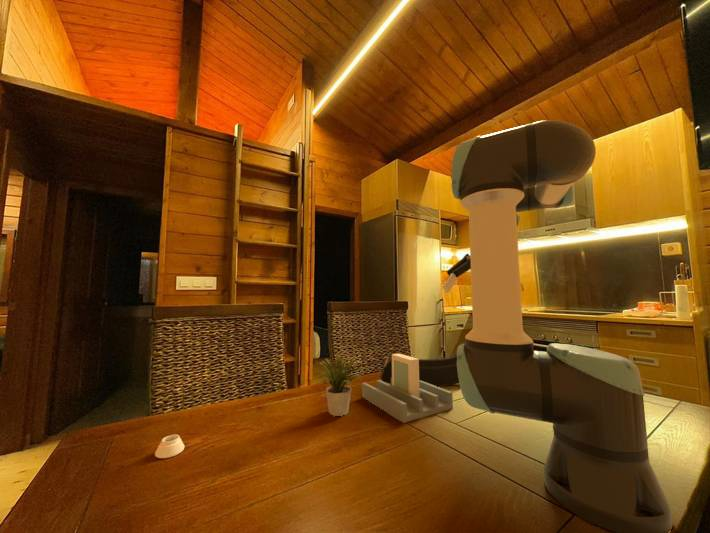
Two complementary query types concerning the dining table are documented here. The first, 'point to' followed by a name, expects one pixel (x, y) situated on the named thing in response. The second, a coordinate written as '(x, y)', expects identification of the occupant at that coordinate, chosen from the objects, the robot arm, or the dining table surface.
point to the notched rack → (408, 400)
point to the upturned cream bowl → (169, 447)
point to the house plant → (339, 385)
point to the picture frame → (405, 373)
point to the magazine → (429, 371)
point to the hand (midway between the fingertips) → (462, 289)
